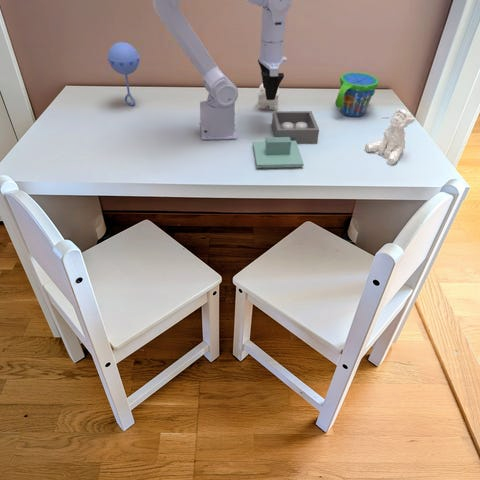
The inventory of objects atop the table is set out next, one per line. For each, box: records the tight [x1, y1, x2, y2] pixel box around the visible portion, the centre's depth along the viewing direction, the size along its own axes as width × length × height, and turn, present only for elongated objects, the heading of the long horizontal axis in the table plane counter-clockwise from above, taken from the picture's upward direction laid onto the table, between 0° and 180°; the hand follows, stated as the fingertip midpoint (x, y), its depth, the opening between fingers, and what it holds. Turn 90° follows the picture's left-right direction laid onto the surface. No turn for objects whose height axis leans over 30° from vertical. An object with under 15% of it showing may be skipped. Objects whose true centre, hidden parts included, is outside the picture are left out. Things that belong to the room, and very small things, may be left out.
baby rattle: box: [107, 41, 140, 107], centre depth 118 cm, size 9×9×18 cm
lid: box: [252, 136, 305, 169], centre depth 101 cm, size 11×11×5 cm
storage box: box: [271, 110, 320, 145], centre depth 111 cm, size 11×11×4 cm
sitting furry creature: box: [364, 107, 416, 166], centre depth 101 cm, size 10×9×12 cm
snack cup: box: [334, 72, 379, 118], centre depth 119 cm, size 16×10×10 cm
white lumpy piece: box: [257, 82, 280, 111], centre depth 123 cm, size 6×8×12 cm
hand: (268, 93), depth 109 cm, fingers open, 7 cm apart
